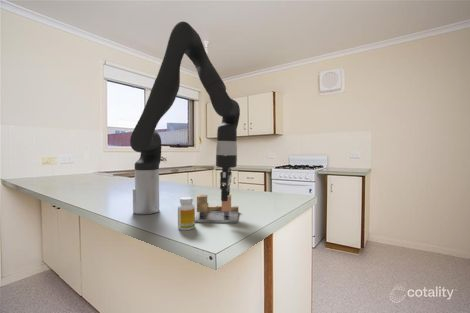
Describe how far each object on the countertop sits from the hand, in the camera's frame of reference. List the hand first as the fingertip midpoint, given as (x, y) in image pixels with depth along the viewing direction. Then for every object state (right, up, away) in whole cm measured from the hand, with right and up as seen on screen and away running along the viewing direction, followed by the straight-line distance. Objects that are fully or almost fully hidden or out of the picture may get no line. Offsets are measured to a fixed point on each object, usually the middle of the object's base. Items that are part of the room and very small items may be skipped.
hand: (225, 198), depth 85 cm
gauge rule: (-3, -7, +4) cm, 9 cm away
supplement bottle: (-12, -8, -9) cm, 17 cm away
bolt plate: (-3, -8, +2) cm, 8 cm away
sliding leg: (0, -6, 0) cm, 6 cm away
